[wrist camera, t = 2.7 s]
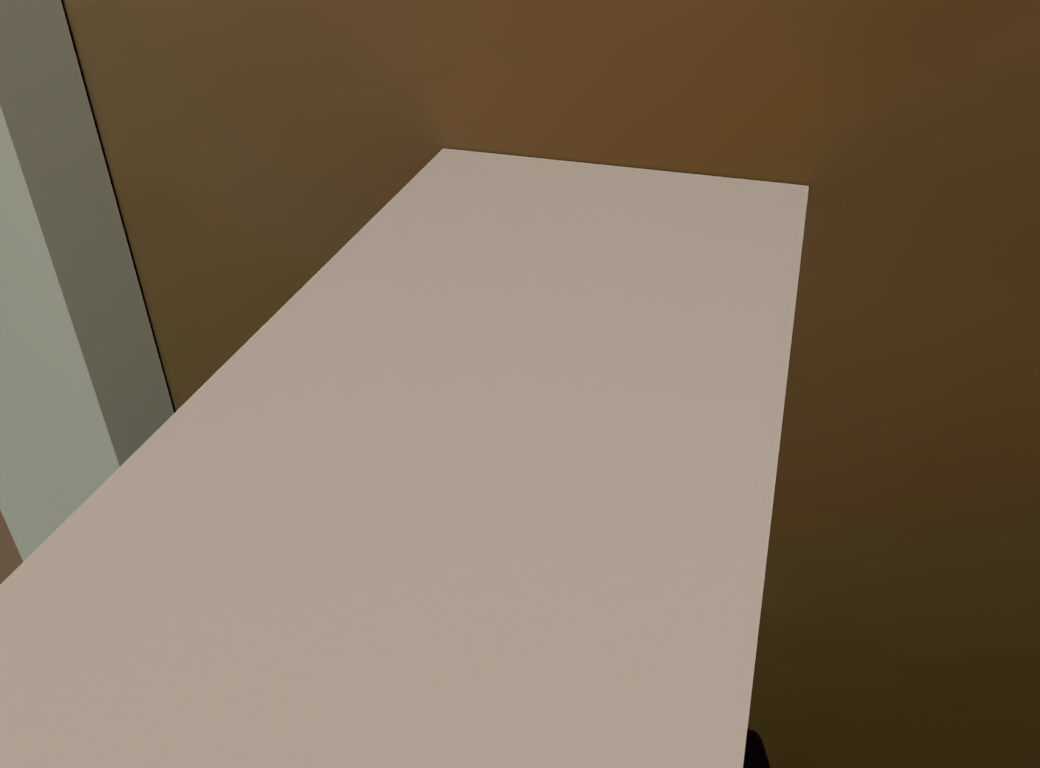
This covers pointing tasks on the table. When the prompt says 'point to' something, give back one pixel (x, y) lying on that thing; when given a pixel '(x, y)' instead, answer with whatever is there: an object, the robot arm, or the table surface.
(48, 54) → the slotted stand
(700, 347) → the grey rectangular block
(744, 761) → the robot arm
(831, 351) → the table surface
